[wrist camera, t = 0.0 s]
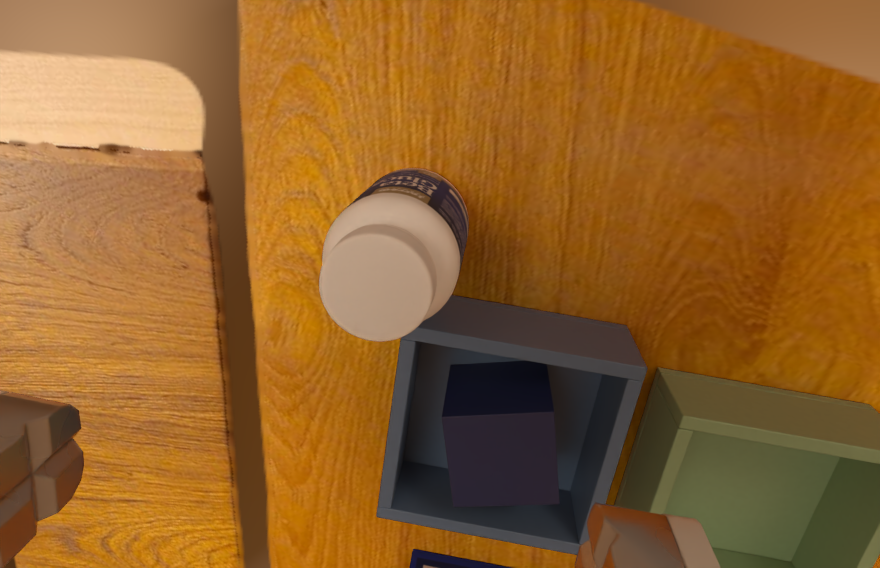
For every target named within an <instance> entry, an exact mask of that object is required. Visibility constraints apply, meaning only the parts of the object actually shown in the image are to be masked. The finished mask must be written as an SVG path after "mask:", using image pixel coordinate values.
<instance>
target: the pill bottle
mask: <svg viewBox="0 0 880 568" xmlns="http://www.w3.org/2000/svg"><path fill="white" fill-rule="evenodd" d="M468 231H469V219H468V212H467V208H466V205H465V203H464V201H463V199H462V197H461V195H460V194H459V192H458V191H457V190H456V188H455V187H454V186H453V185H452V184H451V183H450V182H449V181H448V180H446V179H445V178H443V177H442V176H440V175H438V174H436V173H434V172H432V171H429V170H425V169H419V168H406V169H400V170H396V171H393V172H391V173H389V174H387V175H385V176H383V177H382V178H380V179H379V180H378V181H376V182H375V183H374V184H373V185H372V186H371V187H369V188H368V189H367V190H366V191H365V192H364V193H362V194H361V195H360V196H359V197H358V198H357V199H356V200H355V201H354V202H352V203H351V204H350V205H349V206H348V207H347V208H346V209H345V210H344V211H343V212H342V213H341V214H340V215H339V216H338V217H337V218H336V220H335V221H334V222H333V224H332V225H331V227H330V229H329V231H328V233H327V236H326V239H325V242H324V247H323V253H322V262H323V265H322V267H321V271H320V277H319V289H320V295H321V299H322V301H323V304H324V306H325V309H326V310H327V312H328V314H329V315H330V316H331V318H332V319H333V320H334V321H335V322H336V323H337V324H338V325H339V326H340V327H341V328H343V329H344V330H345V331H347V332H348V333H350V334H352V335H354V336H356V337H359V338H362V339H365V340H370V341H390V340H395V339H398V338H401V337H403V336H405V335H407V334H409V333H411V332H412V331H413V330H415V329H416V328H417V327H418V326H419V325H420V324H421V323H422V321H424V320H426V319H428V318H430V317H431V316H433V315H434V314H435V313H437V312H438V311H439V310H440V309H441V308H442V307H443V306H444V305H445V304H446V302H447V301H448V300H449V298H450V296H451V295H452V293H453V291H454V288H455V286H456V283H457V280H458V277H459V273H460V269H461V264H462V259H463V255H464V251H465V247H466V242H467V237H468Z"/></svg>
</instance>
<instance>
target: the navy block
mask: <svg viewBox="0 0 880 568" xmlns="http://www.w3.org/2000/svg"><path fill="white" fill-rule="evenodd" d="M442 425H443V433H444V440H445V448H446V456H447V463H448V471H449V478H450V486H451V494H452V501H453V507H476V506H515V505H553V504H559V503H560V501H559V483H558V466H557V448H556V431H555V413H554V406H553V400H552V393H551V387H550V380H549V374H548V368H547V364H543V363H537V362H531V361H509V362H492V363H474V364H457V365H450V370H449V376H448V382H447V388H446V394H445V400H444V406H443V412H442Z"/></svg>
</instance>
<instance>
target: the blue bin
mask: <svg viewBox="0 0 880 568" xmlns="http://www.w3.org/2000/svg"><path fill="white" fill-rule="evenodd" d="M509 361H531V362H537V363H543V364H547V368H548V374H549V380H550V387H551V393H552V400H553V406H554V413H555V431H556V448H557V466H558V483H559V501H560V503H559V504H553V505H515V506H476V507H453V501H452V494H451V486H450V478H449V471H448V463H447V456H446V448H445V440H444V433H443V425H442V412H443V406H444V400H445V394H446V388H447V382H448V376H449V370H450V365H457V364H474V363H492V362H509ZM646 372H647V366H646V364H645V362H644V360H643V358H642V356H641V354H640V352H639V350H638V348H637V346H636V344H635V341H634V339H633V337H632V335H631V333H630V331H629V329H628V327H627V326H626V325H621V324H615V323H610V322H604V321H598V320H592V319H587V318H581V317H575V316H569V315H564V314H558V313H552V312H546V311H541V310H535V309H529V308H523V307H518V306H512V305H506V304H500V303H495V302H489V301H483V300H477V299H471V298H466V297H460V296H454V295H451V296H450V298H449V300H448V301H447V302H446V304H445V305H444V306H443V307H442V308H441V309H440V310H439V311H438V312H437V313H435V314H434V315H433V316H431V317H430V318H428V319H426V320H424V321H422V323H421V324H420V325H419V326H418V327H417V328H416V329H415V330H413V331H412V332H411V333H409V334H407V335H405V336H403V337H401V341H400V348H399V355H398V362H397V370H396V377H395V384H394V392H393V399H392V406H391V413H390V421H389V428H388V435H387V443H386V450H385V457H384V464H383V472H382V479H381V486H380V493H379V501H378V508H377V517H379V518H385V519H390V520H395V521H401V522H406V523H411V524H416V525H422V526H427V527H432V528H438V529H443V530H448V531H453V532H459V533H464V534H469V535H474V536H480V537H485V538H490V539H496V540H501V541H506V542H511V543H517V544H522V545H527V546H533V547H538V548H543V549H548V550H554V551H559V552H564V553H570V554H575V555H577V554H578V550H579V547H580V545H582V544H583V543H584V542H586V541H587V540H589V534H588V528H587V520H588V517H589V514H590V511H591V509H592V507H593V505H594V504H595V502H596V503H601V504H605V503H606V500H607V497H608V494H609V490H610V487H611V484H612V481H613V477H614V474H615V471H616V468H617V464H618V461H619V458H620V455H621V452H622V448H623V445H624V442H625V439H626V435H627V432H628V429H629V426H630V423H631V419H632V416H633V413H634V410H635V406H636V403H637V400H638V397H639V394H640V390H641V387H642V384H643V381H644V378H645V375H646Z"/></svg>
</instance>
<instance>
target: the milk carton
mask: <svg viewBox="0 0 880 568" xmlns="http://www.w3.org/2000/svg"><path fill="white" fill-rule="evenodd" d="M410 568H510V567H504V566H499V565H494V564H489V563H483V562H478V561H473V560H468V559H462V558H457V557H452V556H447V555H442V554H436V553H431V552H426V551H421V550H415V549H413V552H412V557H411V563H410Z"/></svg>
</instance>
